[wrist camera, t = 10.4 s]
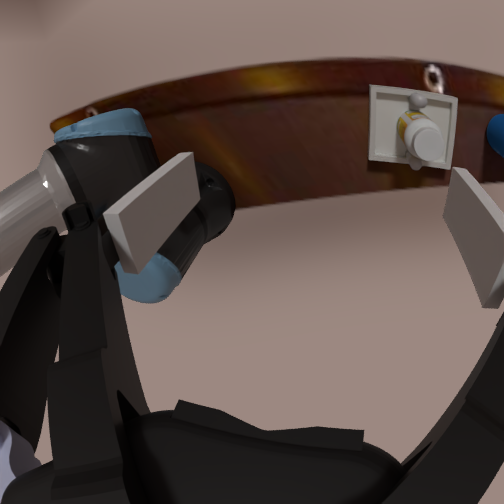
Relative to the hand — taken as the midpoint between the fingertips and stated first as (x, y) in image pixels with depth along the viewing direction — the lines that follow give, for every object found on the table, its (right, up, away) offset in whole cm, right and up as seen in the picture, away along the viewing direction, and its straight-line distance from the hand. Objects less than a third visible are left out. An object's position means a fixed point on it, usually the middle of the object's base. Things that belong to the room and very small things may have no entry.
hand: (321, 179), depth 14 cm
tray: (+20, +15, +24) cm, 34 cm away
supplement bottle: (+20, +14, +23) cm, 33 cm away
